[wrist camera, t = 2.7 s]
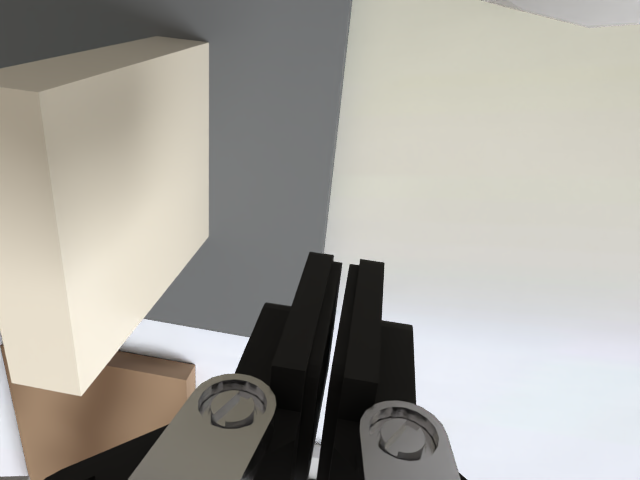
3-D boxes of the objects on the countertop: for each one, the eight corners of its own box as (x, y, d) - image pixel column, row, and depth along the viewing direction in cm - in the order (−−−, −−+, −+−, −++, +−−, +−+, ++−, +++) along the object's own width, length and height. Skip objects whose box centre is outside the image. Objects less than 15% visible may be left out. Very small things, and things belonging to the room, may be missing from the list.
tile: (208, 42, 19) (38, 92, 11) (208, 236, 23) (81, 396, 14) (153, 35, 20) (-61, 78, 11) (161, 229, 23) (6, 381, 14)
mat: (363, -103, 17) (361, -106, 17) (314, 338, 25) (311, 348, 25) (-180, -153, 19) (-202, -159, 19) (-66, 272, 27) (-79, 279, 27)
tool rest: (195, 364, 27) (186, 380, 26) (197, 516, 33) (189, 534, 32) (15, 331, 28) (0, 345, 27) (46, 484, 34) (34, 501, 33)
